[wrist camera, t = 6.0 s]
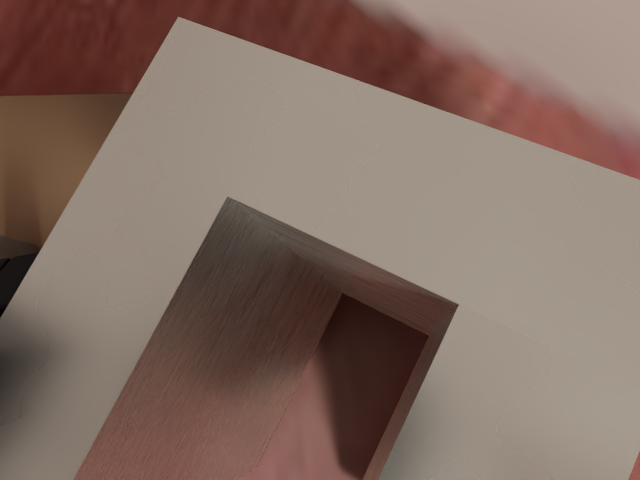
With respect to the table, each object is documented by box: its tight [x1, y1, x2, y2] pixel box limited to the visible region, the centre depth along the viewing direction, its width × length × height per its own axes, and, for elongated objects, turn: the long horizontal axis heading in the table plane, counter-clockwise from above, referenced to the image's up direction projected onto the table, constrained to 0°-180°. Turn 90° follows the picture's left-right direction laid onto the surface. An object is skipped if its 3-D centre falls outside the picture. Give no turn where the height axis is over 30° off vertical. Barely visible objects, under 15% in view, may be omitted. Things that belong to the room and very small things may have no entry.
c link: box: [0, 17, 640, 480], centre depth 10 cm, size 8×7×10 cm
